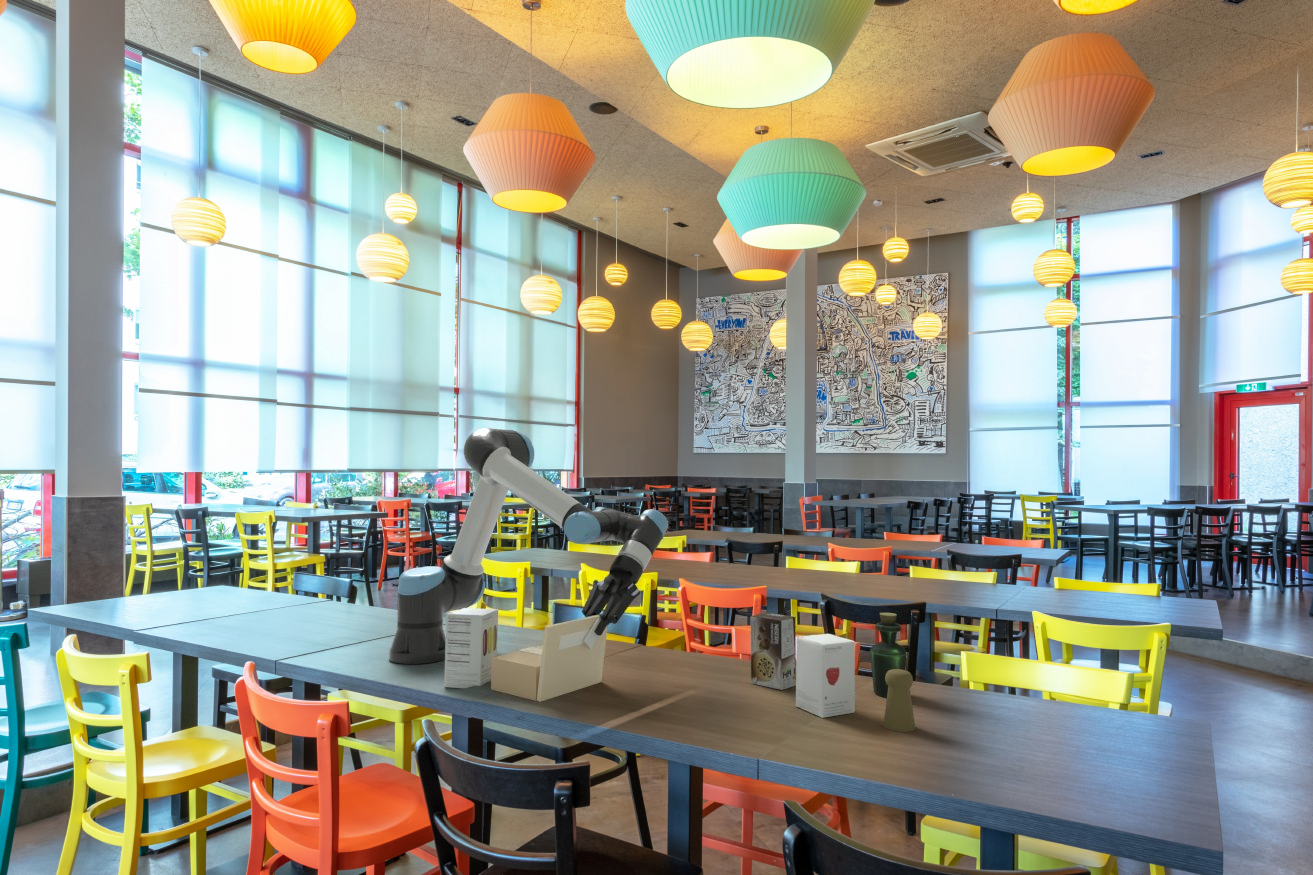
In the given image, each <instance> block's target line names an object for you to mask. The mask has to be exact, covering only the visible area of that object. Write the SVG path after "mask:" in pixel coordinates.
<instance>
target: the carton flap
mask: <svg viewBox="0 0 1313 875" xmlns="http://www.w3.org/2000/svg"><path fill="white" fill-rule="evenodd" d="M602 614H603V613H600V615H602ZM597 618H600V620H601V617H600V616H599V615H595V616H590V617H585V616H584V617H581V618H577V619H572V620H567V621H563V622H558V623H554V624H548V625H545V626H544V633H543V640H542V645H543V649H542V657H541V666H540V675H539V684H538V693H537V702H538V703H539V702H544V701H547V700H550V699H553V698H556V697H559V696H563V695H565V694H569V693H571V692H575V691H578V690H581V689H583V688H587V687H590V686H594V685H597V684H599V683H602V681H603V680H602V678H603V672H604V662H605V655H606V654H605V653H606V644H607V635H608V627H609V625H607V626H606V628H605V630H604V631H603V633H602V635H601V636H598V638H597V640H596V642H595V643H594V645H593V647H592V649H588V647H587V646H586V645H585V643H584V642H583V641H584V639H585V638H586V636H587V634H588V632H589V631H590V629H591V627H592V626H593V624H594V622H595V621H596V619H597Z"/></svg>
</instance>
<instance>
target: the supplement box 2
mask: <svg viewBox="0 0 1313 875" xmlns="http://www.w3.org/2000/svg"><path fill="white" fill-rule="evenodd" d="M855 646H856V641H855V640H852V639H849V638H844V637H841V636H838V635H835V634H832V633H823V634H811V635H801V636H796V686H795V707H798V708H800V709H801V710H803V711H806V712H808V713H811V714H813V715H816V716H818V717H819V718H821V719H823V718H830V717H835V716H836V717H837V716H842V715H846V714H854V713H855V712H856V711H855V709H856V708H855V707H856V706H855V705H856V704H855V701H856V697H855V695H856V693H855V692H856V691H855V690H856V687H855V686H856V684H855V682H856V679H855V678H856V677H855V676H856V675H855V674H856V672H855V671H856V670H855V669H856V660H855V659H856V658H855V657H856V650H855V649H856V647H855Z"/></svg>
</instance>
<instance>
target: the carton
mask: <svg viewBox="0 0 1313 875" xmlns="http://www.w3.org/2000/svg"><path fill="white" fill-rule="evenodd" d="M542 649H543V644H542V645H537V646H533V647H531V646H529V647H526V648H521V649H518V650H516V651H512V652H509V653H504V654H500V655H497V656H495V657H492V669H491V681H490V689H491V691H497V692H500V693H504V694H508V695H513V696H516V697H520V698H523V699H527V700H532V701H535V702H536V701H537V693H538V684H539V675H540V666H541V657H542ZM537 702H538V701H537Z"/></svg>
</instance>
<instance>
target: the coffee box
mask: <svg viewBox="0 0 1313 875" xmlns="http://www.w3.org/2000/svg"><path fill="white" fill-rule="evenodd" d="M796 621H797V620H796V616H792V615H784V614H778V613H772V612H760V613H758V614H754V615H751V616H750V683H751V684H752V685H756V686H757V685H758V686H763V687H766V688H771V689H776V690H781V691H784V690H786V689H789V688H792V687H796V660H797V634H796V629H797V628H796V627H797V626H796V624H797V623H796Z"/></svg>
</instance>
